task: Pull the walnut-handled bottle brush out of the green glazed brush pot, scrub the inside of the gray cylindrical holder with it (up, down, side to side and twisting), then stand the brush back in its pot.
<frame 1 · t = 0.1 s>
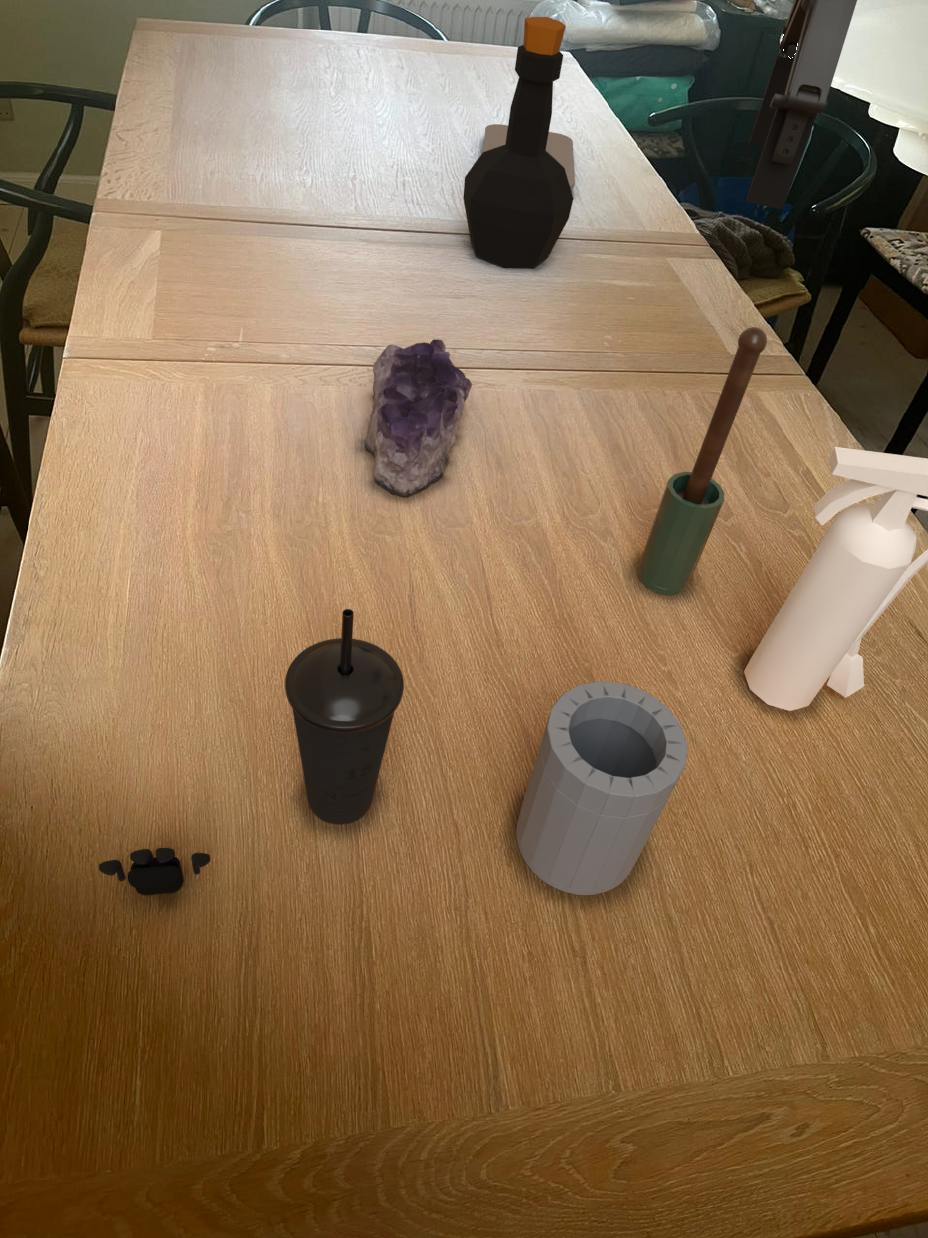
hand: (764, 173, 74), 35 cm above the table, tool pointing down, fingers open, 13 cm apart
tablet: (526, 168, 163), on the table
drinking cup: (339, 798, 69), on the table
wireless earbuds: (160, 895, 62), on the table
fire extinguisher: (789, 688, 83), on the table
brush: (665, 571, 91), point 1 cm above the table, touching brush pot
bottle: (508, 252, 139), on the table
geode: (414, 443, 102), on the table
gray cylindrical holder: (576, 838, 69), on the table
brush pot: (662, 576, 91), on the table
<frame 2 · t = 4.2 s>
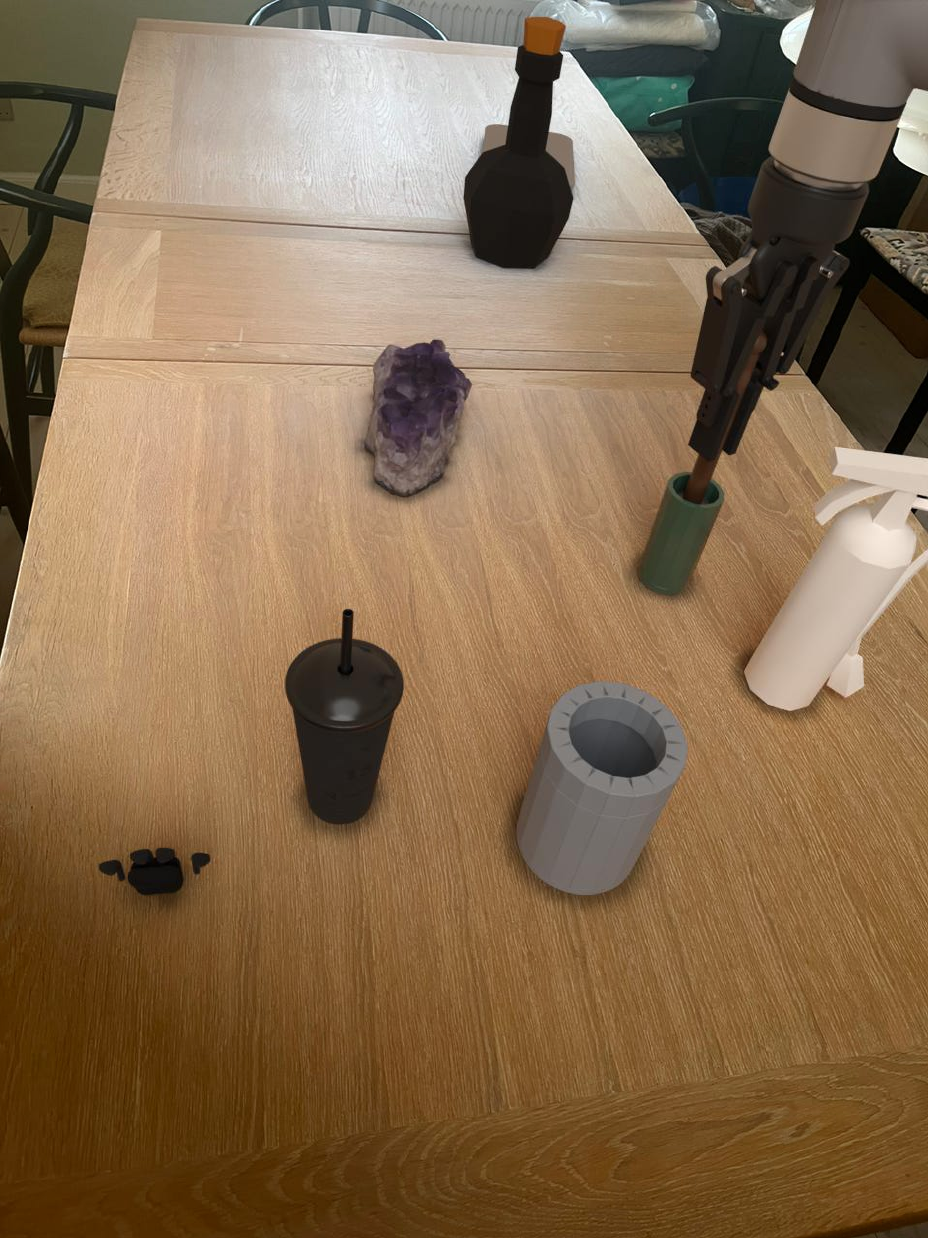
hand: (711, 448, 80), 15 cm above the table, tool pointing down, fingers closed on brush, 2 cm apart
brush: (665, 571, 91), point 1 cm above the table, touching brush pot, gripper
everything else where it was.
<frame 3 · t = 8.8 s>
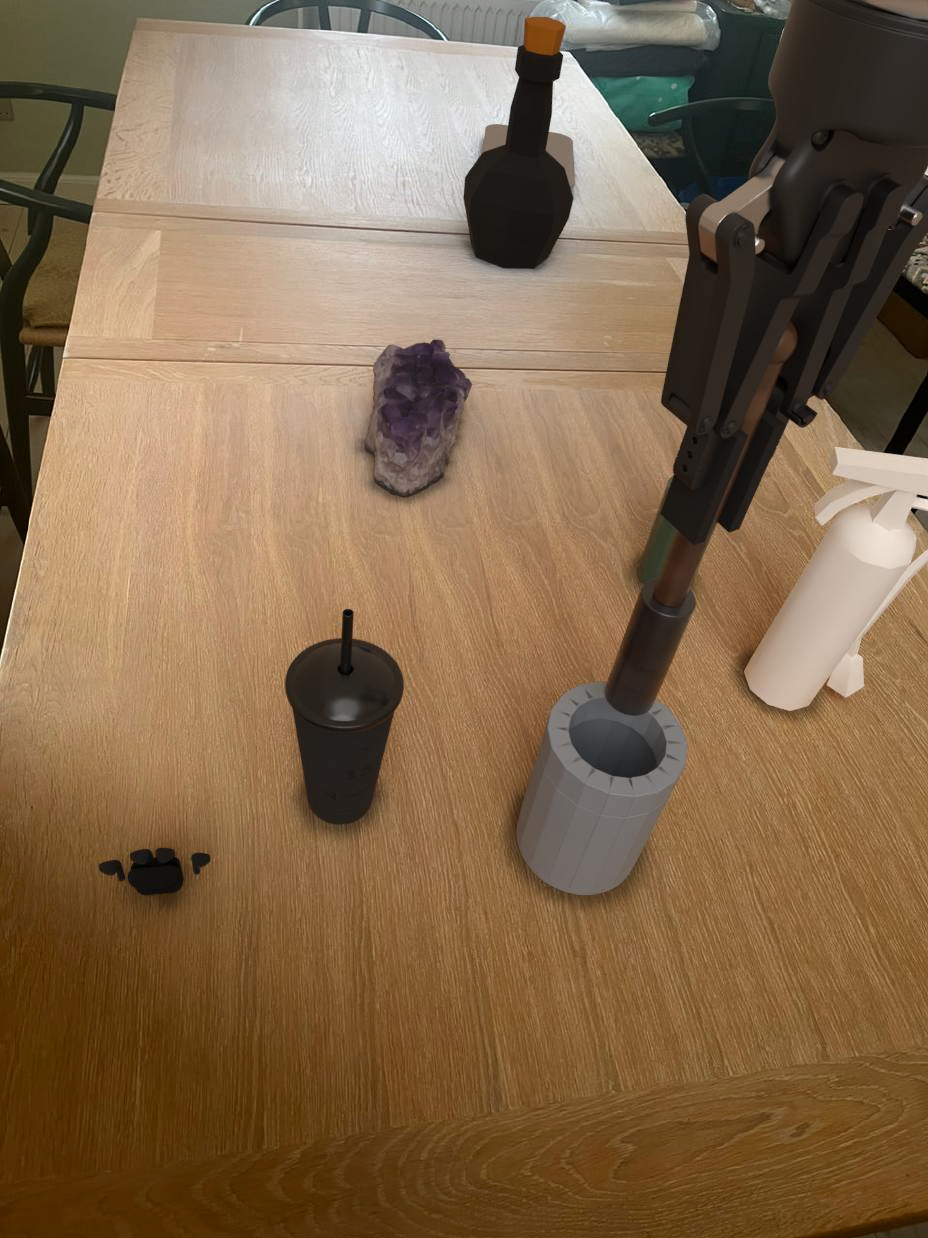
hand: (700, 520, 48), 31 cm above the table, tool pointing down, fingers closed on brush, 2 cm apart
brush: (628, 696, 58), point 16 cm above the table, touching gripper
everything else where it was.
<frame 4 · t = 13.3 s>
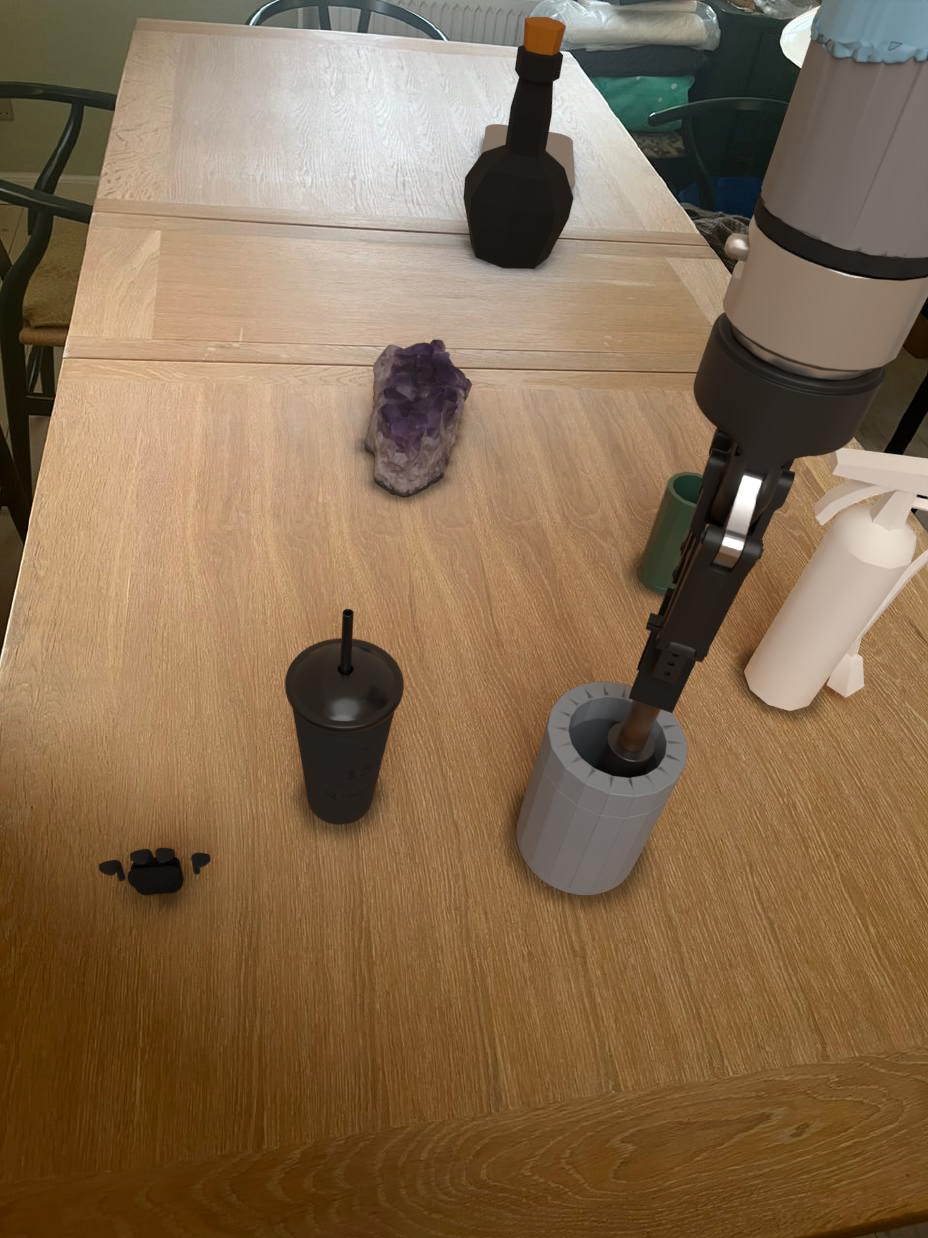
hand: (655, 686, 56), 18 cm above the table, tool pointing down, fingers closed on brush, 2 cm apart
brush: (600, 815, 66), point 4 cm above the table, touching gripper
everything else where it was.
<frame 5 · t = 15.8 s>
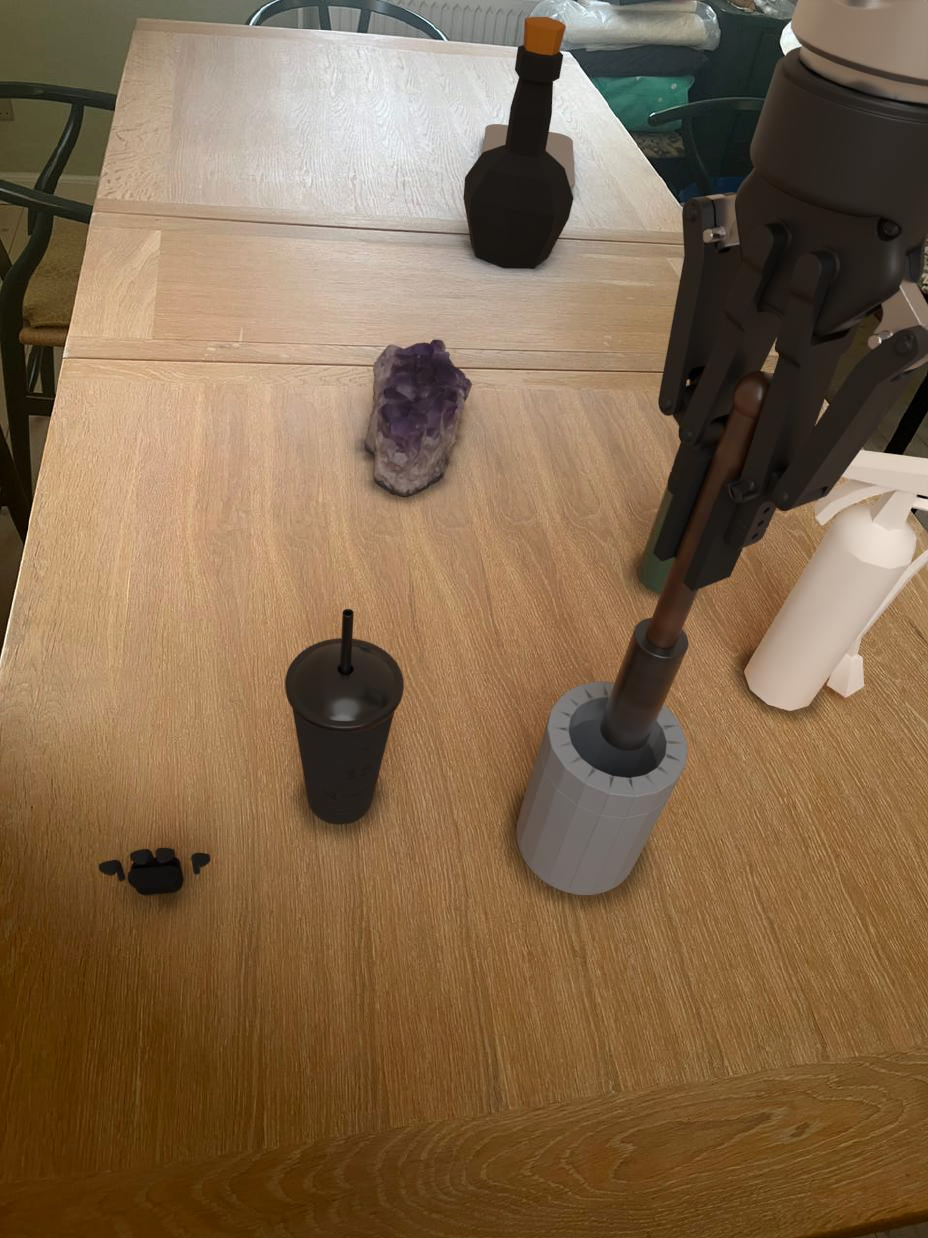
hand: (691, 564, 49), 29 cm above the table, tool pointing down, fingers closed on brush, 2 cm apart
brush: (623, 731, 59), point 14 cm above the table, touching gripper
everything else where it was.
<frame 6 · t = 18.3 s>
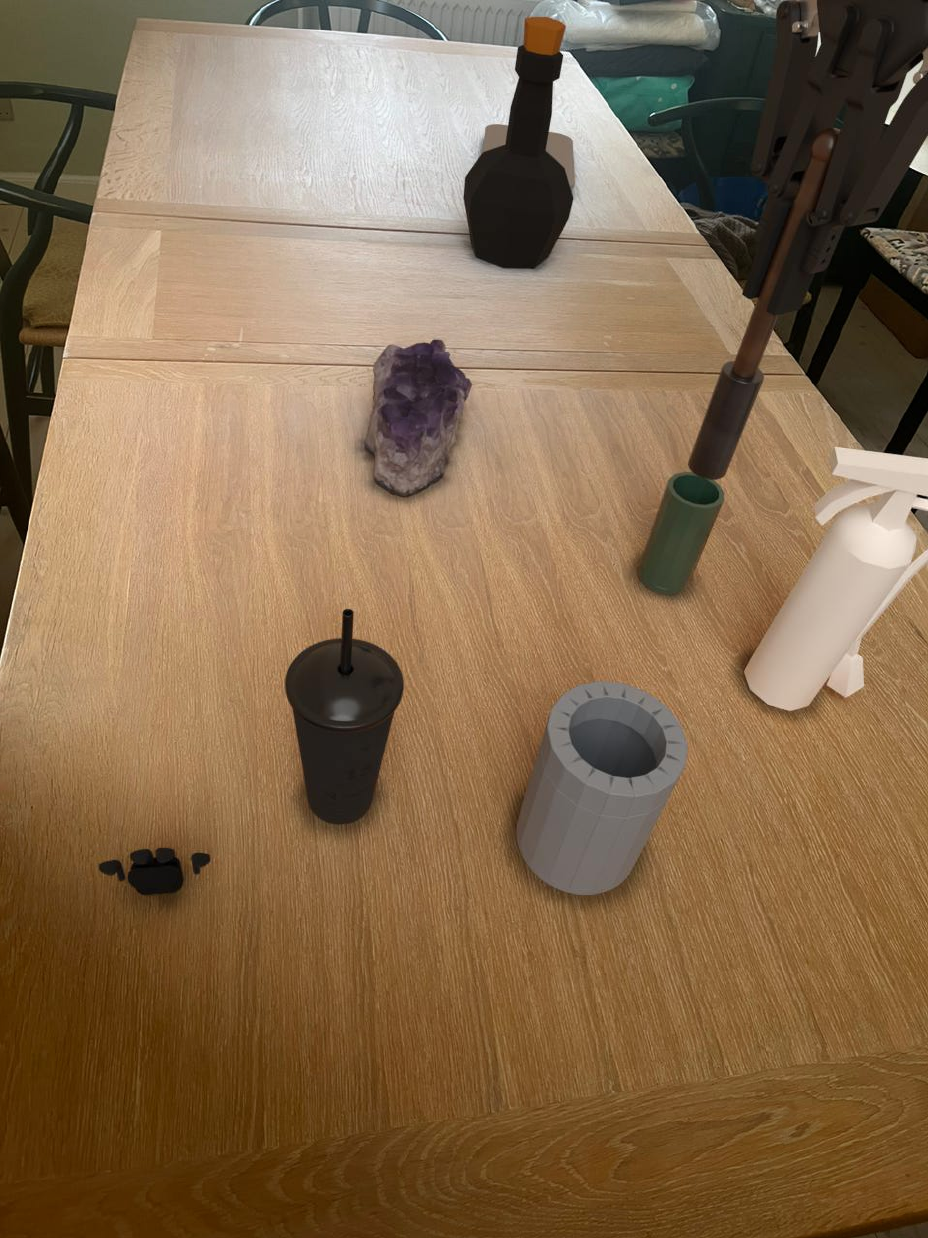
hand: (771, 301, 65), 31 cm above the table, tool pointing down, fingers closed on brush, 2 cm apart
brush: (706, 468, 76), point 17 cm above the table, touching gripper
everything else where it was.
when the fingers open (15 cm above the table, at t = 22.4 s): brush stays where it is, resting on brush pot.
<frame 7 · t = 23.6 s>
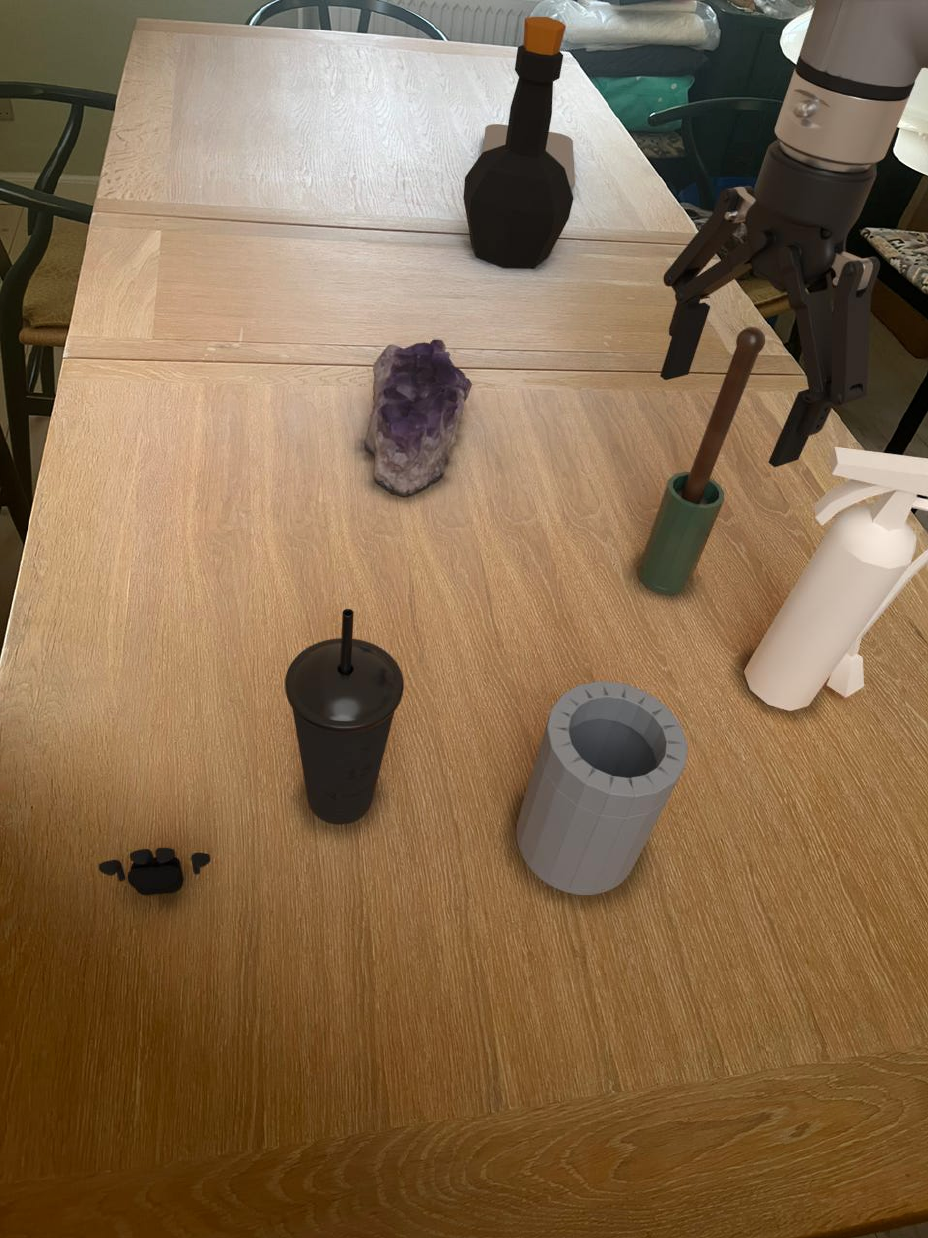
hand: (725, 416, 78), 19 cm above the table, tool pointing down, fingers open, 13 cm apart
brush: (663, 570, 91), point 1 cm above the table, touching brush pot
everything else where it was.
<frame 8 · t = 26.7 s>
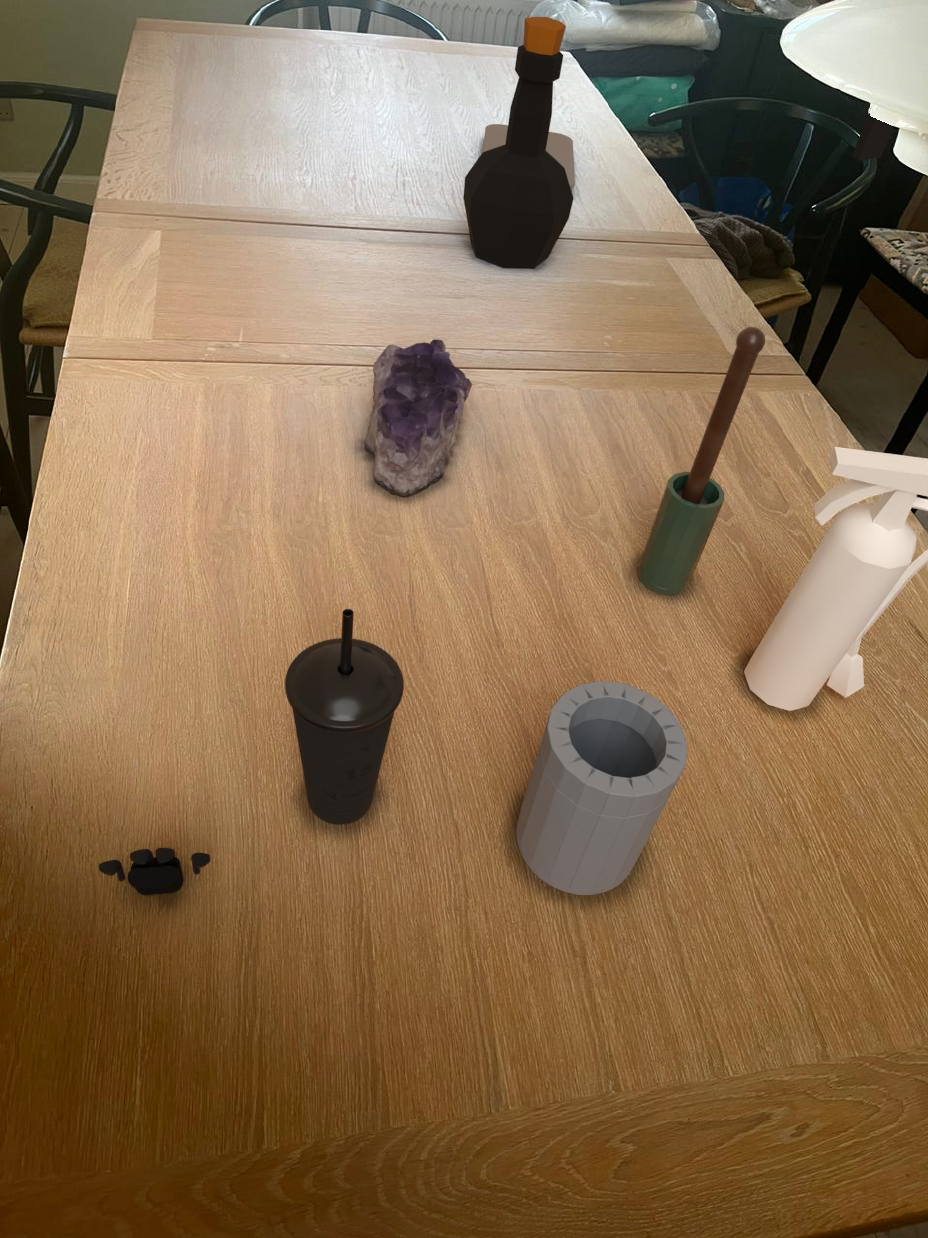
nothing on the table moved.
at the end: brush 0.1 cm off-centre in the brush pot, point 0.8 cm above the brush pot's base; brush tilted 0°; brush touching brush pot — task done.
